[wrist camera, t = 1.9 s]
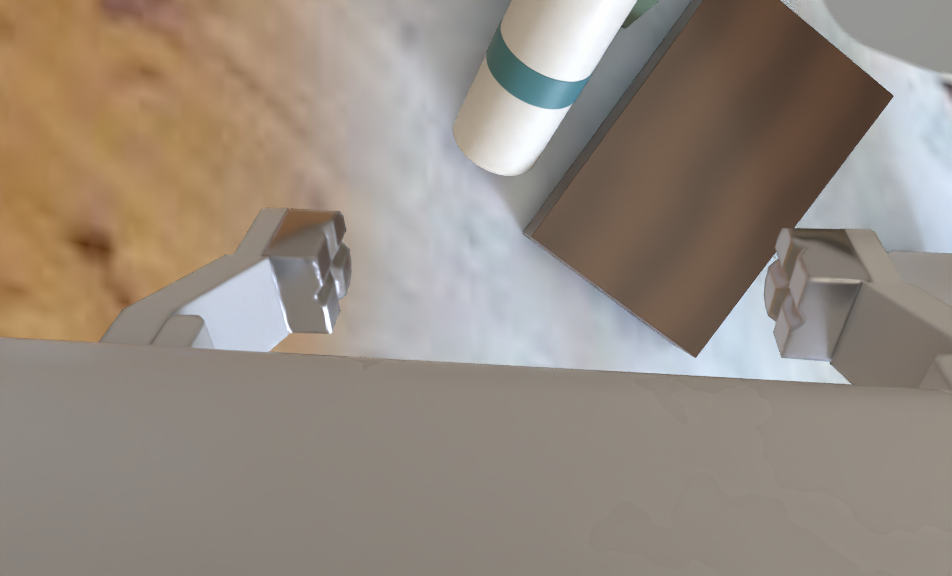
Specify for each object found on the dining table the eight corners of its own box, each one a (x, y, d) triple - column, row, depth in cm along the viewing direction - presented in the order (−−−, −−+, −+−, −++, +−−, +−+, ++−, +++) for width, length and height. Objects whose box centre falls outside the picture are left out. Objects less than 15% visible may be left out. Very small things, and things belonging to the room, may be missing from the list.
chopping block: (522, 233, 48) (530, 236, 44) (706, -20, 46) (732, -40, 42) (674, 345, 49) (695, 358, 45) (855, 104, 48) (894, 95, 44)
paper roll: (518, 191, 47) (554, 188, 34) (439, 151, 46) (445, 134, 34) (609, 4, 46) (682, -71, 33) (529, -38, 45) (572, -133, 32)
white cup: (901, 357, 51) (1017, 397, 41) (830, 303, 50) (931, 330, 40) (960, 280, 50) (1092, 301, 40) (890, 224, 49) (1007, 232, 39)
